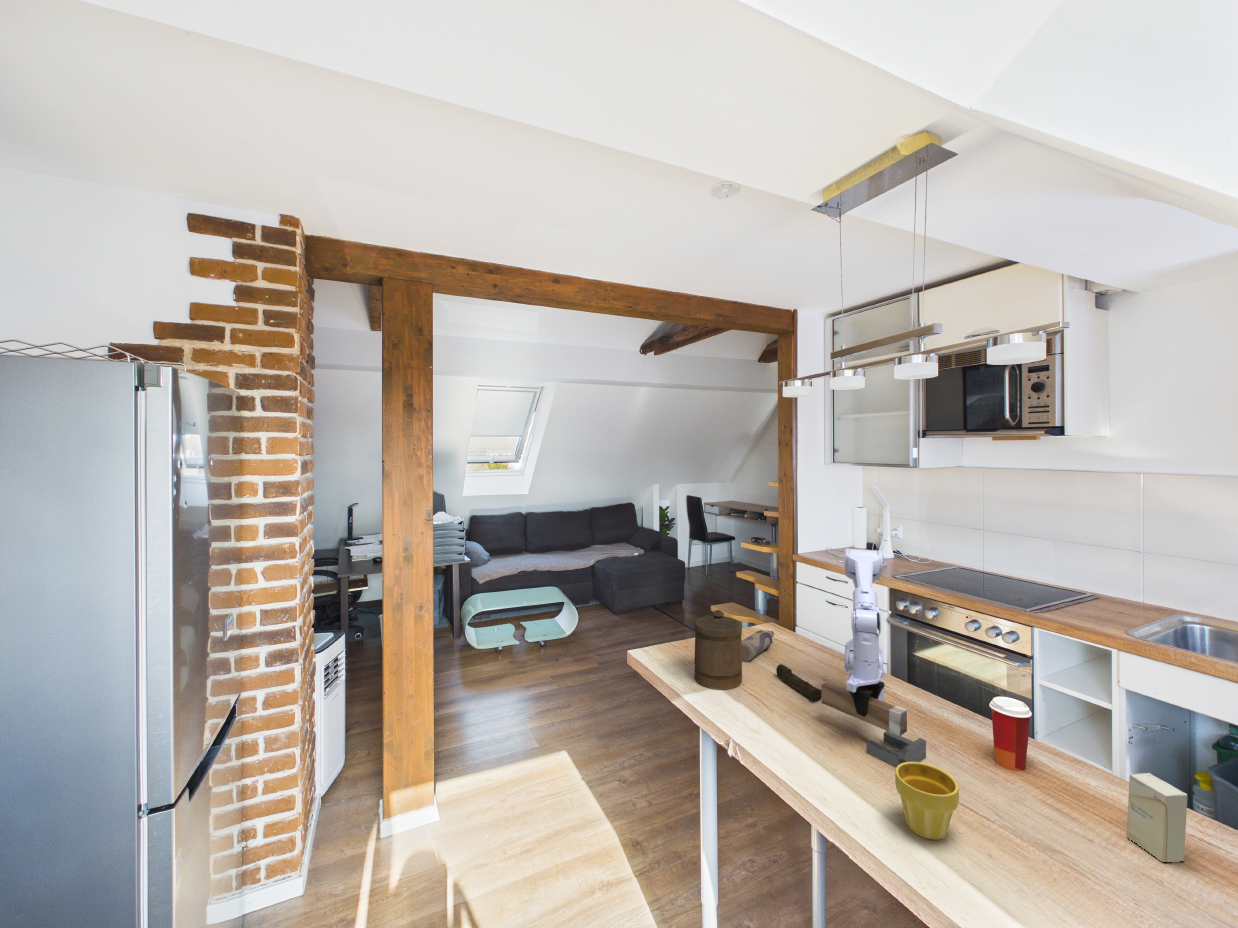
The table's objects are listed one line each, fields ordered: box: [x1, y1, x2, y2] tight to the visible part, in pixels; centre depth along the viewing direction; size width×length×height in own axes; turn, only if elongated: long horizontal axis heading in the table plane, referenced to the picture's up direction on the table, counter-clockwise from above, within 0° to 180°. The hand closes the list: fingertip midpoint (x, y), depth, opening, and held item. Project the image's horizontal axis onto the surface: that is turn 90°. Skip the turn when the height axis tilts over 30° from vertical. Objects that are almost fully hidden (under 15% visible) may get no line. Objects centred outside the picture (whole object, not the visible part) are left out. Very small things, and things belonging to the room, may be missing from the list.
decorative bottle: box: [741, 629, 775, 662], centre depth 186 cm, size 26×8×7 cm, turn 140°
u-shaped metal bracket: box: [866, 730, 927, 768], centre depth 121 cm, size 10×9×4 cm
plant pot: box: [894, 761, 960, 841], centre depth 98 cm, size 10×10×10 cm
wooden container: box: [694, 609, 743, 690], centre depth 162 cm, size 15×15×22 cm
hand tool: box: [775, 663, 822, 703], centre depth 156 cm, size 19×4×5 cm, turn 16°
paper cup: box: [988, 696, 1033, 772], centre depth 117 cm, size 8×8×14 cm
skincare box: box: [1126, 772, 1188, 863], centre depth 92 cm, size 6×4×12 cm
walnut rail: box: [821, 680, 908, 736], centre depth 128 cm, size 4×20×5 cm, turn 36°
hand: (865, 712), depth 127 cm, fingers closed on walnut rail, 3 cm apart
